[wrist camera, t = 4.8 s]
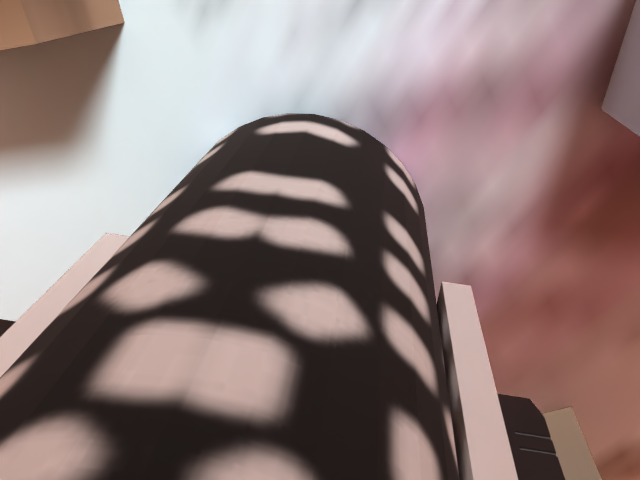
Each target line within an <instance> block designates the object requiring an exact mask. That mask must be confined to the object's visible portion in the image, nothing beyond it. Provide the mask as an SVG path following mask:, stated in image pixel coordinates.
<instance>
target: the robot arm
mask: <svg viewBox="0 0 640 480" xmlns="http://www.w3.org/2000/svg"><path fill="white" fill-rule="evenodd" d="M129 237H130V236H123V235H116V234H109V233H106V234H105V235H104V236H102V237H101V238H100V239H99V240H98V241H97V242H96V243H95V244H94V245H93V246H92V247H91V248H90V249H89V250H88V251H87V252H86V253H85V254H84V255H83V256H82V257H81V258H80V259H79V260H78V261H77V262H76V263H75V264H74V265H73V266H72V267H71V268H70V269H69V270H68V271H67V272H66V273H65V274H64V275H63V276H62V277H61V278H60V279H59V280H58V281H57V282H56V283H55V284H54V285H53V286H52V287H51V288H50V289H49V290H48V291H47V292H46V293H45V294H44V295H43V296H42V297H41V298H40V299H39V300H38V301H37V302H35V303H34V304H33V305H32V306H31V307H30V308H29V309H28V310H27V311H26V312H25V313H24V314H23V315H22V316H21V317H20V318H19V319H18V320H17V321H16V322H15V321H8V320H2V319H0V377H1V376H2V375H3V374H4V373H5V372H6V371H7V370H8V369H9V367H10V366H11V365H12V364H13V363H14V362H15V361H16V360H17V359H18V358H19V357H20V356H21V354H22V353H23V352H24V351H25V350H26V349H27V348H28V347H29V346H30V345H31V344H32V343H33V341H34V340H35V339H36V338H37V337H38V336H39V335H40V334H41V333H42V332H43V331H44V329H45V328H46V327H47V326H48V325H49V324H50V323H51V322H52V321H53V320H54V319H55V318H56V316H57V315H58V314H59V313H60V312H61V311H62V310H63V309H64V308H65V307H66V306H67V305H68V303H69V302H70V301H71V300H72V299H73V298H74V297H75V296H76V295H77V294H78V293H79V292H80V290H81V289H82V288H83V287H84V286H85V285H86V284H87V283H88V282H89V281H90V280H91V278H92V277H93V276H94V275H95V274H96V273H97V272H98V271H99V270H100V269H101V268H102V267H103V265H104V264H105V263H106V262H107V261H108V260H109V259H110V258H111V257H112V256H113V255H114V254H115V252H116V251H117V250H118V249H119V248H120V247H121V246H122V245H123V244H124V243H125V242H126V241H127V239H128V238H129ZM436 306H437V313H438V321H439V328H440V336H441V343H442V351H443V358H444V366H445V374H446V381H447V389H448V396H449V404H450V411H451V419H452V427H453V434H454V442H455V449H456V457H457V464H458V472H459V480H565V477H564V474H563V471H562V468H561V465H560V462H559V459H558V457H557V456H556V450H555V447H554V444H553V441H552V440H551V435H550V432H549V429H548V426H547V423H546V420H545V417H544V416H543V415H542V414H541V412H540V411H539V410H538V409H537V408H536V406H535V405H534V404H533V403H532V402H531V400H530V399H527V398H521V397H514V396H508V395H501V394H497V391H496V387H495V383H494V379H493V375H492V370H491V366H490V362H489V358H488V354H487V350H486V346H485V342H484V338H483V334H482V330H481V325H480V321H479V317H478V313H477V309H476V305H475V301H474V297H473V293H472V289H471V286H469V285H462V284H455V283H449V282H442V283H441V288H440V292H439V296H438V301H437V305H436Z"/></svg>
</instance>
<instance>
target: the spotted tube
mask: <svg viewBox="0 0 640 480" xmlns="http://www.w3.org/2000/svg"><path fill="white" fill-rule="evenodd" d="M0 480H459V472H458V464H457V457H456V449H455V442H454V434H453V427H452V419H451V411H450V404H449V396H448V389H447V381H446V374H445V366H444V358H443V351H442V343H441V336H440V328H439V321H438V313H437V306H436V298H435V290H434V283H433V275H432V268H431V260H430V253H429V245H428V237H427V230H426V222H425V215H424V207H423V204H422V201H421V199H420V196H419V193H418V190H417V188H416V185H415V183H414V182H413V180H412V178H411V177H410V175H409V173H408V172H407V170H406V169H405V167H404V165H403V164H402V163H401V162H400V161H399V160H398V159H397V158H396V157H395V155H394V154H393V153H392V152H391V151H390V150H389V149H388V148H387V147H386V146H385V145H384V144H382V143H381V142H379V141H378V140H376V139H375V138H374V137H372V136H371V135H369V134H368V133H366V132H365V131H363V130H361V129H359V128H357V127H354V126H352V125H350V124H348V123H345V122H343V121H341V120H337V119H333V118H329V117H324V116H320V115H315V114H291V113H287V114H282V115H276V116H270V117H264V118H261V119H258V120H256V121H253V122H251V123H248V124H245V125H243V126H240V127H239V128H237V129H236V130H234V131H233V132H231V133H230V134H228V135H227V136H225V137H224V138H222V139H221V140H219V141H218V142H217V143H216V144H215V145H214V147H213V148H212V149H211V150H210V151H209V152H208V153H207V154H206V155H205V156H204V157H203V158H202V159H201V160H200V161H199V162H198V163H197V165H196V166H195V167H194V168H193V169H192V170H191V171H190V172H189V173H188V174H187V175H186V176H185V178H184V179H183V180H182V181H181V182H180V183H179V184H178V185H177V186H176V187H175V188H174V189H173V191H172V192H171V193H170V194H169V195H168V196H167V197H166V198H165V199H164V200H163V201H162V203H161V204H160V205H159V206H158V207H157V208H156V209H155V210H154V211H153V212H152V213H151V214H150V216H149V217H148V218H147V219H146V220H145V221H144V222H143V223H142V224H141V225H140V226H139V227H138V229H137V230H136V231H135V232H134V233H133V234H132V235H131V236H130V237H129V238H128V239H127V241H126V242H125V243H124V244H123V245H122V246H121V247H120V248H119V249H118V250H117V251H116V252H115V254H114V255H113V256H112V257H111V258H110V259H109V260H108V261H107V262H106V263H105V264H104V265H103V267H102V268H101V269H100V270H99V271H98V272H97V273H96V274H95V275H94V276H93V277H92V278H91V280H90V281H89V282H88V283H87V284H86V285H85V286H84V287H83V288H82V289H81V290H80V292H79V293H78V294H77V295H76V296H75V297H74V298H73V299H72V300H71V301H70V302H69V303H68V305H67V306H66V307H65V308H64V309H63V310H62V311H61V312H60V313H59V314H58V315H57V316H56V318H55V319H54V320H53V321H52V322H51V323H50V324H49V325H48V326H47V327H46V328H45V329H44V331H43V332H42V333H41V334H40V335H39V336H38V337H37V338H36V339H35V340H34V341H33V343H32V344H31V345H30V346H29V347H28V348H27V349H26V350H25V351H24V352H23V353H22V354H21V356H20V357H19V358H18V359H17V360H16V361H15V362H14V363H13V364H12V365H11V366H10V367H9V369H8V370H7V371H6V372H5V373H4V374H3V375H2V376H1V377H0Z"/></svg>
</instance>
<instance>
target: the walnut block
mask: <svg viewBox="0 0 640 480" xmlns="http://www.w3.org/2000/svg"><path fill="white" fill-rule="evenodd" d="M121 23H125V22H124V19H123V15H122V12H121V9H120V5H119V2H118V0H0V50H5V49H11V48H16V47H22V46H28V45H34V44H38V43H43V42H47V41H51V40H55V39H59V38H63V37H67V36H71V35H75V34H80V33H84V32H88V31H92V30H96V29H100V28H104V27H108V26H112V25H117V24H121Z"/></svg>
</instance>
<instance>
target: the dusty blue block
mask: <svg viewBox="0 0 640 480" xmlns="http://www.w3.org/2000/svg"><path fill="white" fill-rule="evenodd" d="M601 110H603V111H604V112H606V113H607V114H608V115H610V116H611V117H613V118H614V119H615V120H617V121H618V122H620V123H621V124H622V125H624V126H625V127H627V128H628V129H629V130H631V131H632V132H634V133H635V134H636V135H638V136H639V137H640V0H636V2H635V5H634V8H633V11H632V14H631V18H630V21H629V24H628V27H627V30H626V33H625V36H624V39H623V42H622V45H621V48H620V51H619V55H618V58H617V61H616V64H615V67H614V70H613V73H612V76H611V79H610V82H609V85H608V88H607V92H606V95H605V98H604V101H603V104H602V107H601Z"/></svg>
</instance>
